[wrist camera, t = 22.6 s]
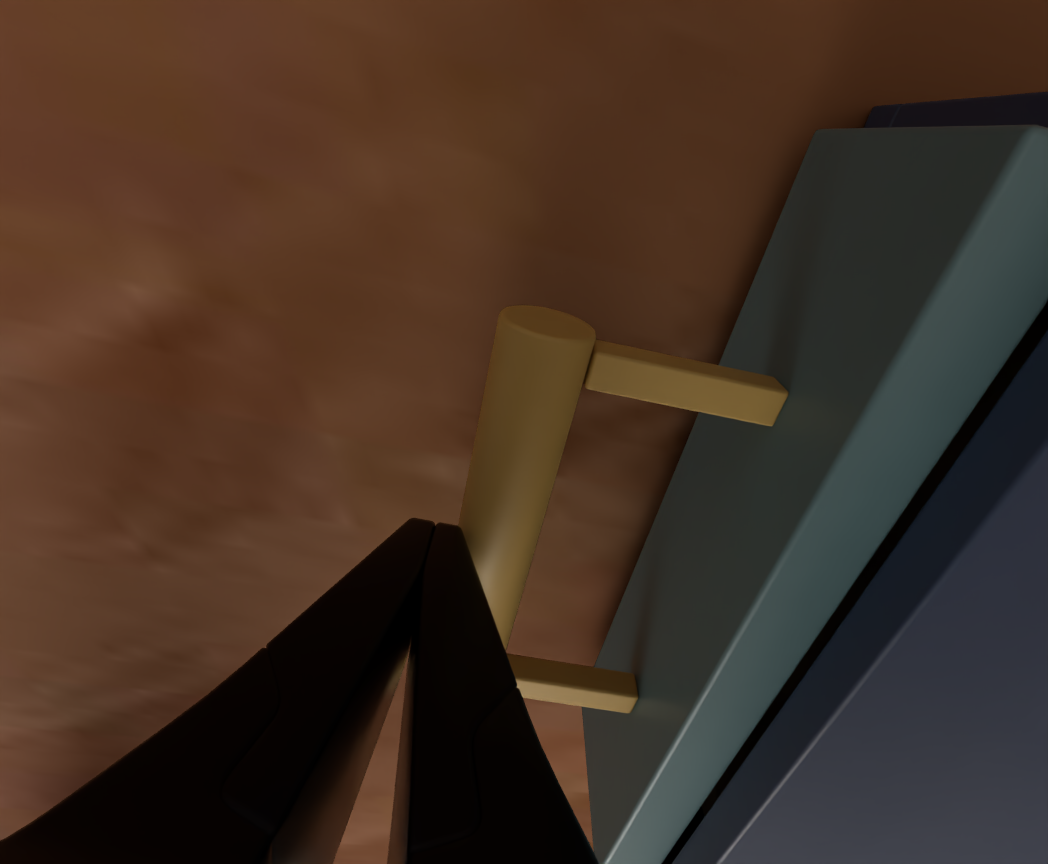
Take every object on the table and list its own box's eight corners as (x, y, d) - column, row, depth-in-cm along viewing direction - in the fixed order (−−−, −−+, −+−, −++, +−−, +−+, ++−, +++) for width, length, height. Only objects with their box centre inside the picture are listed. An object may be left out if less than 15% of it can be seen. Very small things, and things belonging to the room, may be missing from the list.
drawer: (429, 674, 15) (394, 855, 11) (548, 59, 8) (559, -4, 4) (979, 757, 16) (1111, 943, 13) (1471, 294, 10) (2074, 397, 6)
